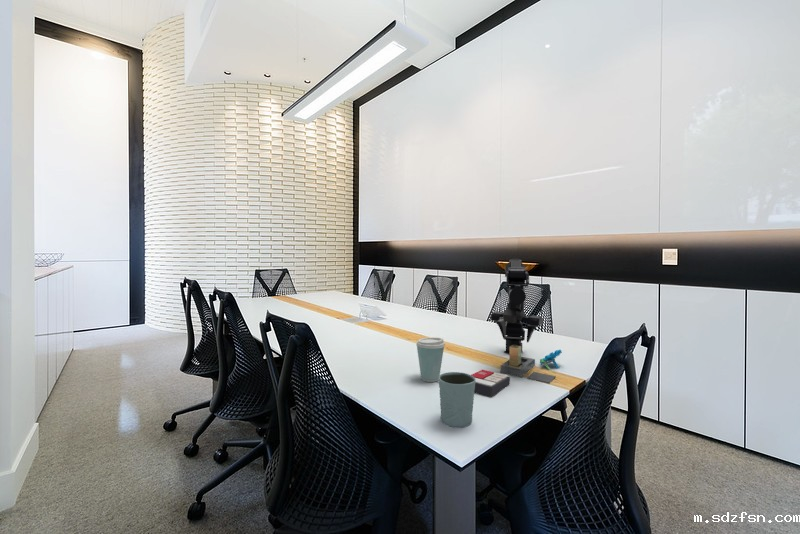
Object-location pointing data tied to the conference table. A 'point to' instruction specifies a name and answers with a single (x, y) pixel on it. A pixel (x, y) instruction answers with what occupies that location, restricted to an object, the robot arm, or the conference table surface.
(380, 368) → the conference table surface
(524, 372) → the grey cinder block
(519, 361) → the brass peg
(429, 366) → the disposable coffee cup
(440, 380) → the green tumbler cup
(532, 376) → the rubber pad
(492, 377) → the calculator
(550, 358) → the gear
